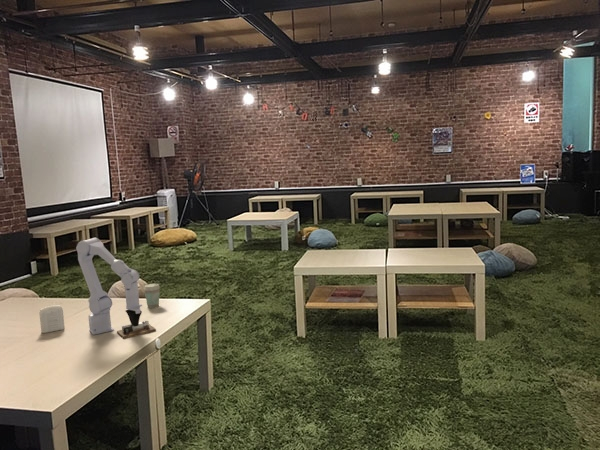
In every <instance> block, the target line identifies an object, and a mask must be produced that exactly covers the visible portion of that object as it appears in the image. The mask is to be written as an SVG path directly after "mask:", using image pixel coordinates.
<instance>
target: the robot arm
mask: <svg viewBox="0 0 600 450" xmlns="http://www.w3.org/2000/svg"><path fill="white" fill-rule="evenodd" d="M75 249H76V252H77V260H78V264H79V266H80V269H81V271H82V274H83V277H84V280H85V282H86V284H87V288H88V291H89V293H90V296H89V298H88V301H87V302H88V303H89V305H88V309H89V311H90V313H91V314H88V325H89V326H88V328H89V330H88V331H89V332H90V333H91V334H92V335H93V336H94V335H95V336H96V335H99V334H102V333H103V334H104V333H107V332H112V331H115V328H114V327H112V319H111V308H112V306H113V300H112V298H111V297H110V296H109V294H108V292H106V291H105V290H103V287H102V284H101V282H100V279H99V276H98V274H97V270H96V268H95V265H94V263H93V260H92V259H93V258H94V256H97V255H98V256H99V257H100V258H101V259H102V260H104V261H105V262H106V263H107V264H109V265H110V269H111V270H112V271H113V273H115V274H116V275H117V276H119V277H120V280H121V283H122V285H123V287H124V292H125V293H124V295H125V303H126V305H125V306H126V307H125V308H126V310H125V313H126V314H127V317H128V318H129V321H130V324H133V326H134V327H135V326H138V325H139V322H140V317H141V315H142V313H143V311H142V310H141V307H143V304H142V303H140V293H139V285H138V281H139V279H140V273H139V272H138V270H136V269H132V268H131V267H129V266H128V265H127V264H126V263H125V262H124V260H122V259H116V258H115V256H114V255H113V254H112V253H111V252H110V251H109V250H108V249H107V248H106V247H105V245H104V243H103V242H102V241H101V239H99V238H97V237H92V238H89V239H86V240H85V239H84V240H80V241H79V242H78V243H77V244H76V247H75Z"/></svg>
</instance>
